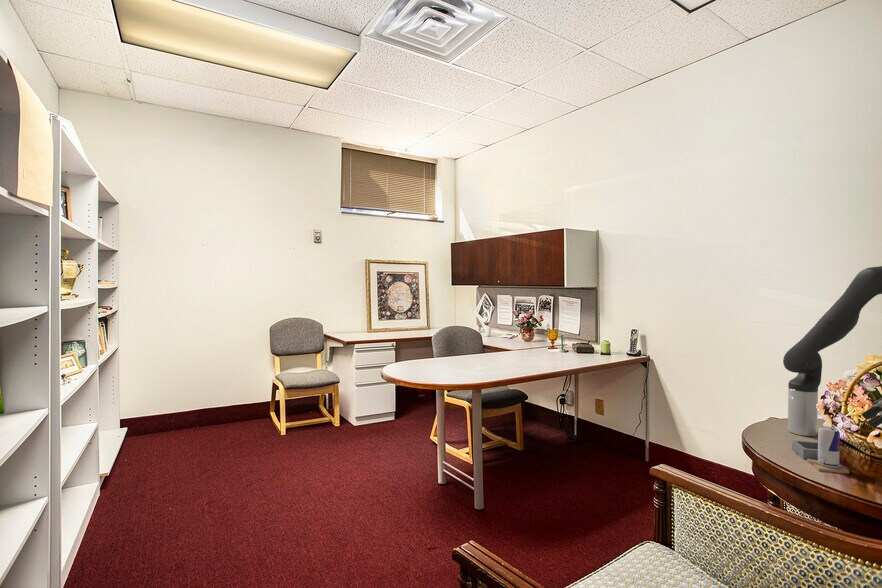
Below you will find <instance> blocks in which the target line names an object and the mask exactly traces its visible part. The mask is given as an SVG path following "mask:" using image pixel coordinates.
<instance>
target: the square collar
mask: <svg viewBox="0 0 882 588" xmlns="http://www.w3.org/2000/svg"><path fill="white" fill-rule="evenodd" d="M791 451H793V452H794V453H795V454H796V455H797V456H799V457H800V458H801V459H802V460H805V461H807V459H815V460H818V441H807V440H796V439H792V440H791Z"/></svg>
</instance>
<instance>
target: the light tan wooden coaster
mask: <svg viewBox="0 0 882 588" xmlns="http://www.w3.org/2000/svg"><path fill="white" fill-rule="evenodd" d="M806 461H807V462H808V464H810V465H811V466H812V467H813V468H815V469H816V470H817V471H818V472H825V473H827V472H829V473H836V474H837V473H838V474H850V471H849V470H848V469H847V468H846V467H844V466H843V465H842V464H841V463H839V467H838V468H829V467H825V466H822V465H820V464H819V463H818V460H815V459H807V460H806Z"/></svg>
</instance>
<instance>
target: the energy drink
mask: <svg viewBox="0 0 882 588" xmlns="http://www.w3.org/2000/svg"><path fill="white" fill-rule="evenodd" d="M840 435H841V433H840V429H838V428H836V427H832V426H826V425H825V426H824V425H821V426H819V427H818V428H817V442H818V463H819V464H820V465H822V466H825V467H829V468H838V467H839V464H840V445H841V443H840V442H841V441H840V437H841V436H840Z"/></svg>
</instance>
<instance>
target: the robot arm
mask: <svg viewBox="0 0 882 588" xmlns="http://www.w3.org/2000/svg"><path fill="white" fill-rule="evenodd" d="M878 295H882V265H880V266H872V267H867V268H864V269H862V270H860V271H859V272H858V273H857V274H856V275H855V277H853V280H851V283H850V284H849V285H848V286H847V288H846V289H845V291H844V292H843V293H842V294H841V296H840V297H839V298H838V299H837V300H836V301H835V302H834V303H833V305H832V306H831V307H830V308H829V309H828V310H827V311H825V313H824V314H823V315H822V316H821V317H820V318H819V319H818V321H817V322H816V323H815V324H814V326H813V327H812V328H811V329H810V330H809V331H808V332H807V333H806V334H805V335H804V336H803V337H802V338H801V339H800V340H799V341H798V342H796V343H795V344H794V345H793V346H792V347H791V348H790V349H788V350H787V351H786V353H785V354H784V356H783V358H782V362H783V366H784V368H785V369H786V370H787V371H788V372H791V373H796V374H797V375H796V376H795V377H793V378H792V379H790V380H789V381H788V385H787V387H788V388H787V390H788V393H787V394H788V395H787V396H788V397H787V401H788V402H787V431H788V432H790V433H792V434H795V435H799V436H804V437H816V436H818V413H819V411H818V410H817V408H816V404H817V403H818V404H819V402H818V401H819V387H820V385H821V382H822V373H823V372H822V371H823V360H822V356H821V355H820V353H819V352H820V351H823V350H824V349H826V348H827V347H830V346H832V345H834V344H836V343H838V342H839V341H841V340H843V339H844V338H845V337H846V336H847V335H849V333H850V332H851V331H852V330H853V329H855V327H856V325H857V324H858V322H859V318H860V314H861V311H862V310H863V308H864V307H865V306H866V305H867V304H868V303H869V302H870V301H871V300H872V299H874V298H875V297H876V296H878ZM860 415H861V416H862V417H863V419H865V420H867V424H869V425H870V426H871V427H873V428H877V427H878V426H881V424H882V397H880V398H879V399H877V400H875V401H874V402H872V403H871V407H870V408H868V409H867V410H865V411H863V412H862V413H861V414H860Z"/></svg>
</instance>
